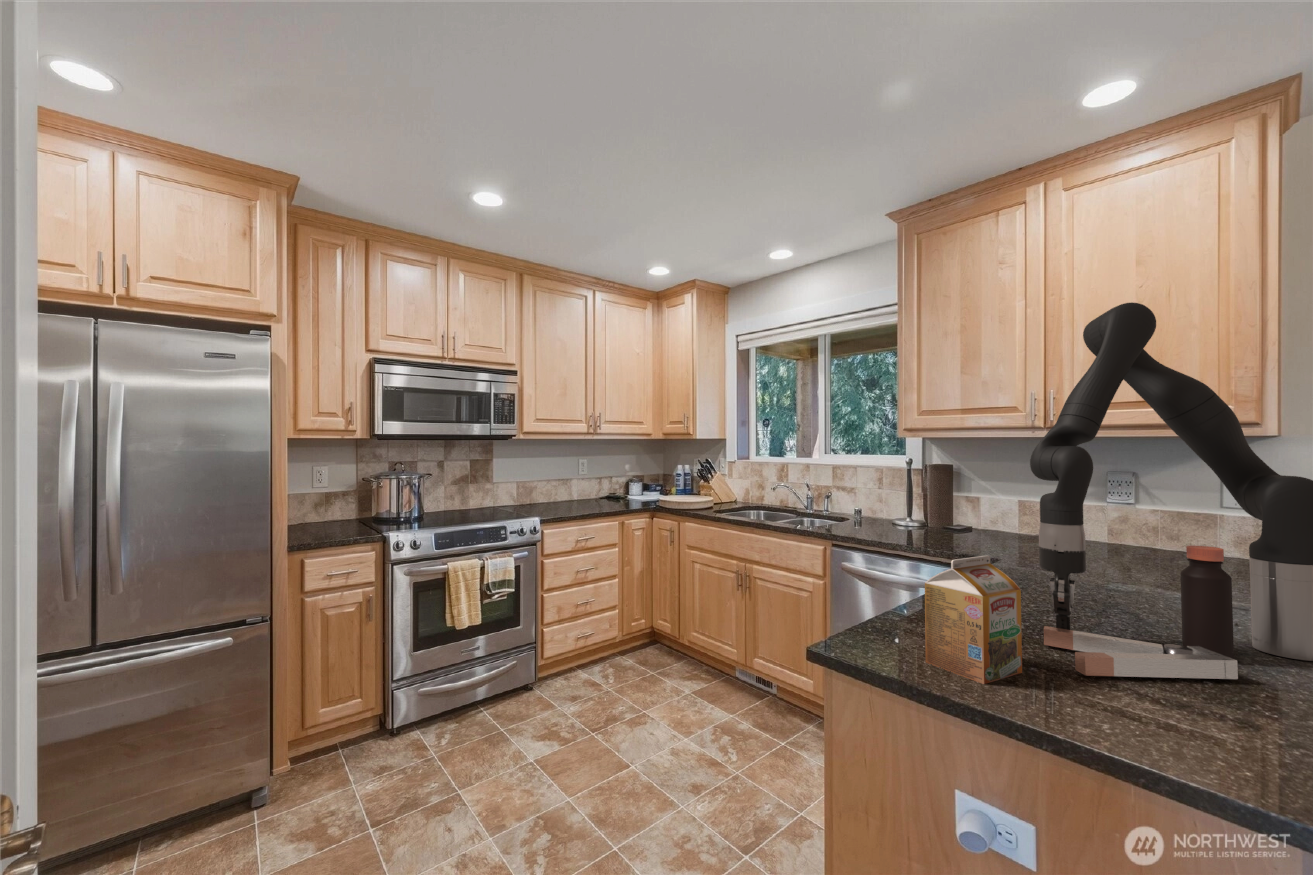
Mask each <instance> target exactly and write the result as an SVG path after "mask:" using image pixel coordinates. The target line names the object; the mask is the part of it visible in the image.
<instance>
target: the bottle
mask: <svg viewBox="0 0 1313 875" xmlns="http://www.w3.org/2000/svg"><path fill="white" fill-rule="evenodd" d="M1185 551H1186V558H1187V559H1186V560H1187V561H1188V563H1189V564H1188V566H1186V567H1185V568H1184V569H1182V570H1181V571H1180V574H1179V575H1180V576H1179V577H1180V604H1181V605H1180V606H1181V612H1180V613H1181V639H1182V640H1181V646H1185V647H1187V646H1200V647H1202V648H1205V649H1208V650H1210V651H1213V652H1216V653H1218V654H1221V655H1224V656H1226V657H1229V658H1232V659H1235V647H1234V646H1235V645H1234V619H1233V618H1234V616H1233V615H1234V613H1233V584H1232V583H1233V580H1232V576H1230V574H1228V573H1227V572H1226V570H1224V569H1223V568H1222V565H1223V564H1224V561H1225V560H1224V559H1225V558H1224V555H1225V554H1224V548H1221V547H1216V546H1207V545H1195V544H1193V545H1190V544H1189V545H1186V550H1185Z"/></svg>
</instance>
